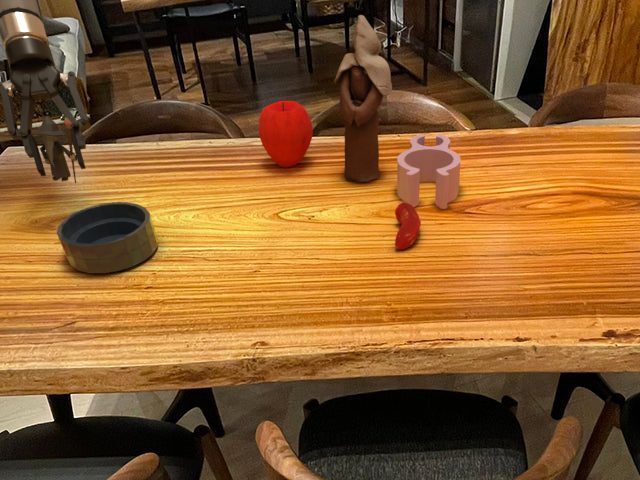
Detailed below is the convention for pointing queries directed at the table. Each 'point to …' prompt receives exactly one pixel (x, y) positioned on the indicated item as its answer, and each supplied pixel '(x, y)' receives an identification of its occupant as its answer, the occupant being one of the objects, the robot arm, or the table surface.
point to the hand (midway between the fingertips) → (62, 169)
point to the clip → (428, 170)
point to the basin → (108, 237)
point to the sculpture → (362, 102)
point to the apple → (285, 132)
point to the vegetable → (406, 225)
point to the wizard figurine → (56, 148)
